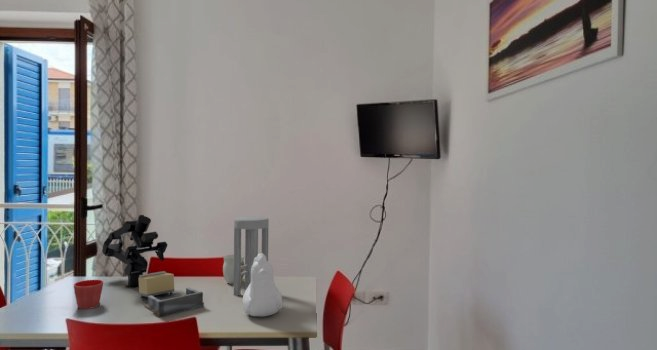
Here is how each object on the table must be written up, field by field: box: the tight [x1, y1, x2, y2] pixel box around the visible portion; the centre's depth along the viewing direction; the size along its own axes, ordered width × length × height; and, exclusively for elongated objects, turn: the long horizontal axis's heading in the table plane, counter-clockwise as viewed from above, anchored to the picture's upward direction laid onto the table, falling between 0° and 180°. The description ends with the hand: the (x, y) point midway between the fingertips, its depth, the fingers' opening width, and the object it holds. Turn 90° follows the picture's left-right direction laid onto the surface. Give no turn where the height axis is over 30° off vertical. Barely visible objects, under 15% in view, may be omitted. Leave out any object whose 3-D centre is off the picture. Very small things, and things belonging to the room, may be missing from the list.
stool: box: [233, 216, 270, 297], centre depth 194 cm, size 16×16×35 cm
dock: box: [141, 287, 205, 318], centre depth 179 cm, size 29×19×7 cm, turn 45°
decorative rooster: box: [242, 252, 283, 317], centre depth 170 cm, size 25×16×25 cm, turn 3°
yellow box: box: [138, 270, 175, 298], centre depth 186 cm, size 10×12×10 cm
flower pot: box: [73, 279, 104, 310], centre depth 174 cm, size 11×11×10 cm
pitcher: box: [222, 254, 245, 285], centre depth 213 cm, size 11×18×14 cm, turn 174°
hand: (153, 262), depth 193 cm, fingers open, 9 cm apart
